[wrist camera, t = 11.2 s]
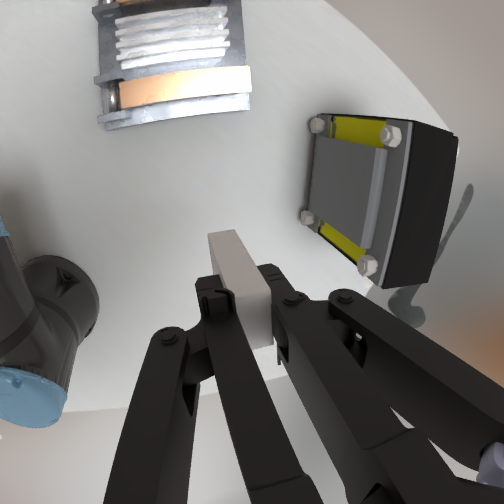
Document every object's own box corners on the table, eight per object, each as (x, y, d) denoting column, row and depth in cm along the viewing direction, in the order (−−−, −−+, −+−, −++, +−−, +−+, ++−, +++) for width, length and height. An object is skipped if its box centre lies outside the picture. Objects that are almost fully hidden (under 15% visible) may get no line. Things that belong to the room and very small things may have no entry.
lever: (123, 108, 29) (121, 108, 28) (121, 83, 28) (119, 82, 27) (249, 92, 31) (251, 91, 30) (247, 67, 30) (249, 65, 29)
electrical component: (307, 111, 41) (398, 115, 23) (365, 121, 44) (463, 136, 26) (295, 225, 48) (366, 291, 30) (350, 225, 51) (431, 282, 33)
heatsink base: (110, 129, 35) (95, 132, 27) (102, -3, 27) (89, -28, 19) (244, 110, 39) (263, 108, 31) (233, -18, 30) (250, -45, 22)
